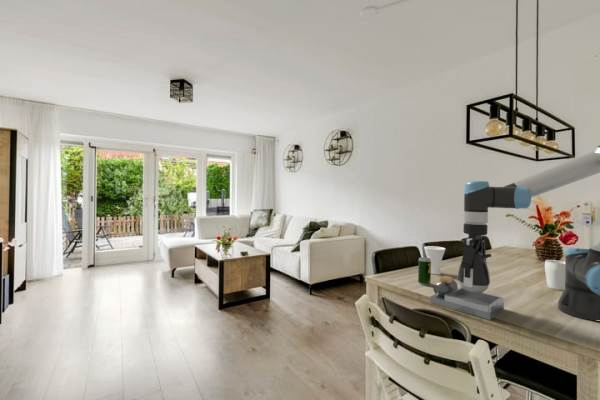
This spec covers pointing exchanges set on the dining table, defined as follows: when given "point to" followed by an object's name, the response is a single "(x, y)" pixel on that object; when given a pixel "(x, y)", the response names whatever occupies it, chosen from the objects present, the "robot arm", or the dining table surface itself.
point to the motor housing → (466, 299)
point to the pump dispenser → (477, 274)
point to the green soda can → (424, 271)
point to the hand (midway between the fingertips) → (473, 283)
